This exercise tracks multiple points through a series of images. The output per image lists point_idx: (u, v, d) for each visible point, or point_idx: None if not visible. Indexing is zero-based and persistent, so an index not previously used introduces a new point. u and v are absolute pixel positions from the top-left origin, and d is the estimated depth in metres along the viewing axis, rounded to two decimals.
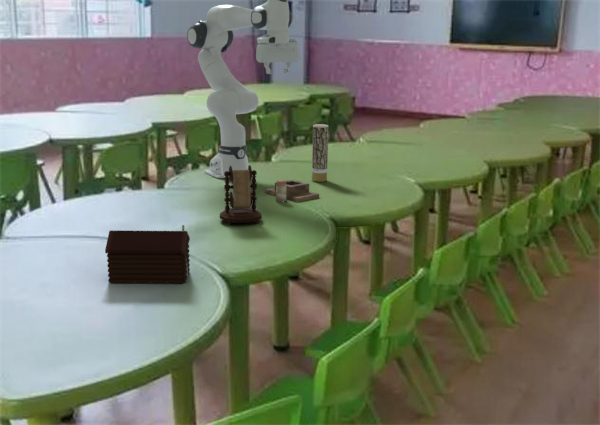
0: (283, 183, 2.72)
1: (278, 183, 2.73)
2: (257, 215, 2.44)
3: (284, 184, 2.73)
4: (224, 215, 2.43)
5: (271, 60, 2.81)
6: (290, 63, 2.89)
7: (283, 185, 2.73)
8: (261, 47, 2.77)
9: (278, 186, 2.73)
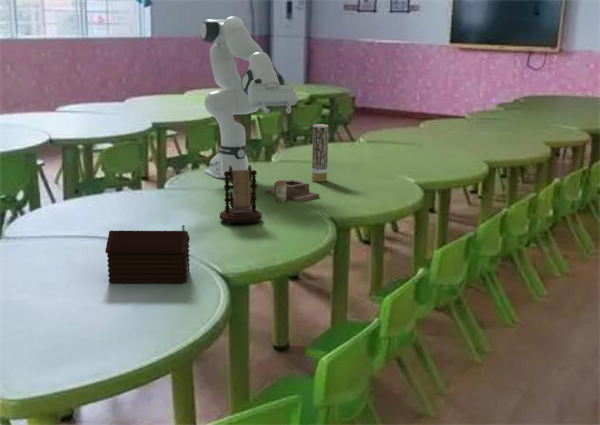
0: (283, 183, 2.72)
1: (278, 183, 2.73)
2: (257, 215, 2.44)
3: (284, 184, 2.73)
4: (224, 215, 2.43)
5: (264, 99, 2.75)
6: (289, 102, 2.80)
7: (283, 185, 2.73)
8: (250, 90, 2.76)
9: (278, 186, 2.73)
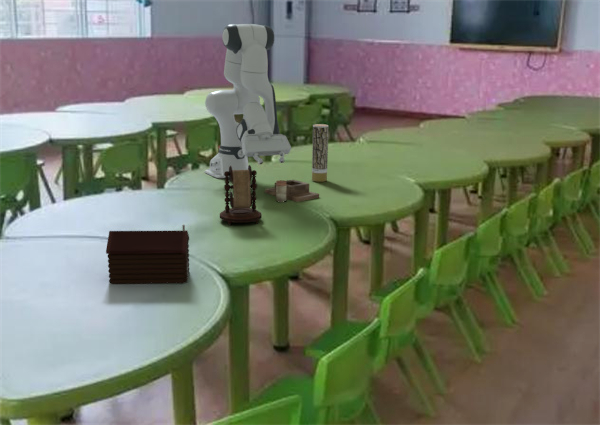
0: (283, 183, 2.72)
1: (278, 183, 2.73)
2: (257, 215, 2.44)
3: (284, 184, 2.73)
4: (224, 215, 2.43)
5: (258, 149, 2.79)
6: (283, 152, 2.84)
7: (283, 185, 2.73)
8: (243, 141, 2.80)
9: (278, 186, 2.73)
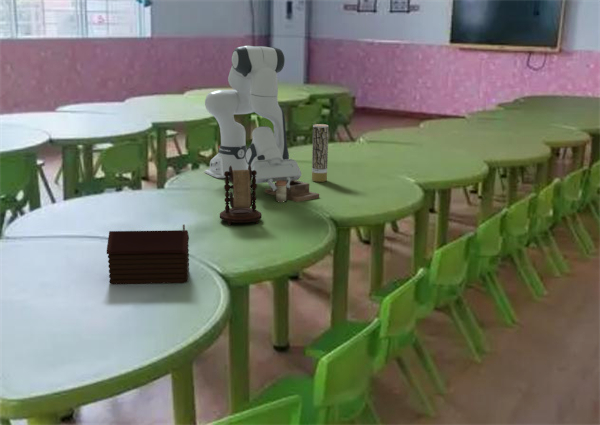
0: (283, 183, 2.72)
1: (278, 183, 2.73)
2: (257, 215, 2.44)
3: (284, 184, 2.73)
4: (224, 215, 2.43)
5: (268, 176, 2.73)
6: (288, 178, 2.77)
7: (283, 185, 2.73)
8: (253, 167, 2.74)
9: (278, 186, 2.73)
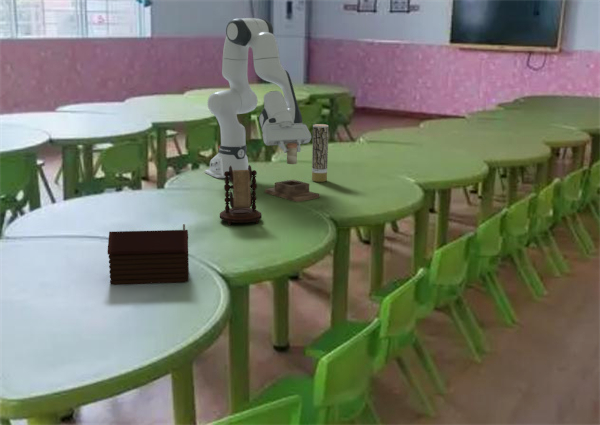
0: (294, 145, 2.79)
1: (289, 145, 2.79)
2: (257, 215, 2.44)
3: (294, 146, 2.79)
4: (224, 215, 2.43)
5: (279, 138, 2.80)
6: (299, 141, 2.83)
7: (294, 147, 2.79)
8: (264, 129, 2.80)
9: (289, 148, 2.79)
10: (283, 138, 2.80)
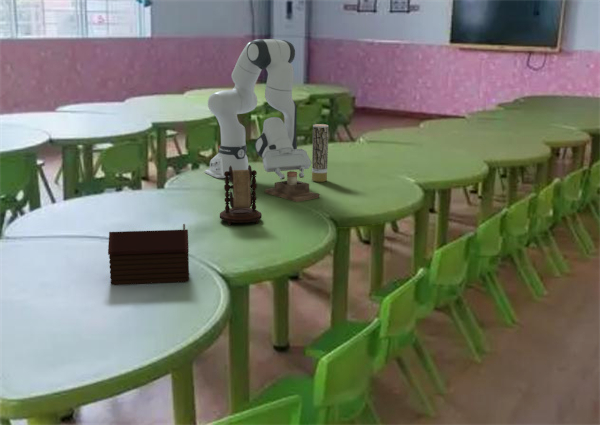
0: (294, 174, 2.82)
1: (289, 174, 2.82)
2: (257, 215, 2.44)
3: (294, 175, 2.82)
4: (224, 215, 2.43)
5: (279, 165, 2.82)
6: (302, 167, 2.87)
7: (294, 176, 2.82)
8: (265, 156, 2.83)
9: (289, 177, 2.83)
10: (283, 165, 2.83)
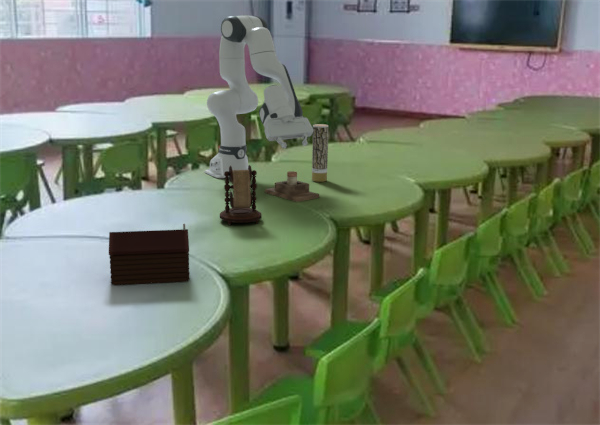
0: (294, 174, 2.82)
1: (289, 174, 2.82)
2: (257, 215, 2.44)
3: (294, 175, 2.82)
4: (224, 215, 2.43)
5: (281, 133, 2.80)
6: (305, 135, 2.85)
7: (294, 176, 2.82)
8: (266, 125, 2.80)
9: (289, 177, 2.82)
10: (285, 133, 2.81)
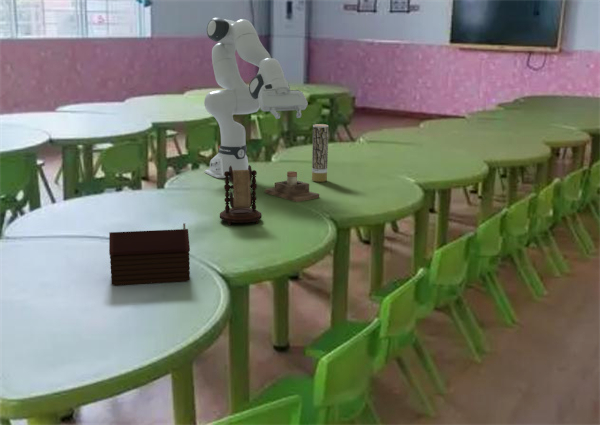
0: (294, 174, 2.82)
1: (289, 174, 2.82)
2: (257, 215, 2.44)
3: (294, 175, 2.82)
4: (224, 215, 2.43)
5: (275, 104, 2.80)
6: (300, 107, 2.84)
7: (294, 176, 2.82)
8: (261, 95, 2.80)
9: (289, 177, 2.82)
10: (279, 104, 2.81)
